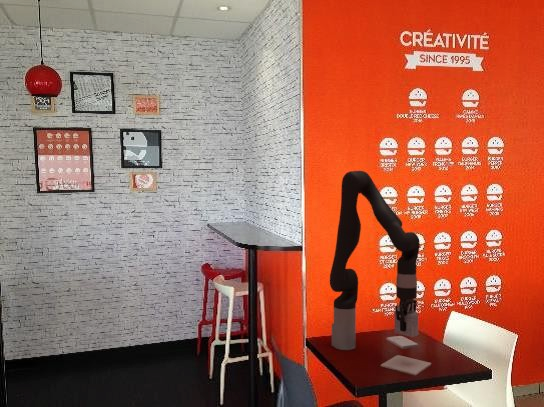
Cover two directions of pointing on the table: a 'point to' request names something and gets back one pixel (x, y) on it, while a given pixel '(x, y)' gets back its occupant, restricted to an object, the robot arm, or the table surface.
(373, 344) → the table surface
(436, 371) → the table surface
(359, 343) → the table surface
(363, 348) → the table surface
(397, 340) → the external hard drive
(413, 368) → the mat
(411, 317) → the medicine box
